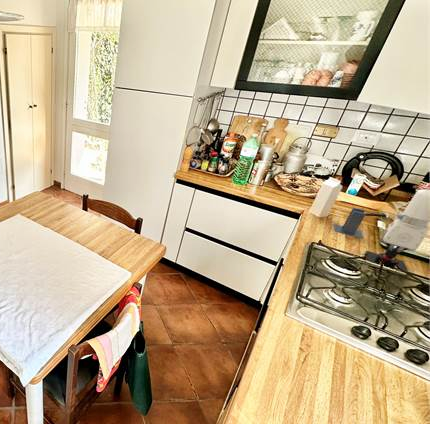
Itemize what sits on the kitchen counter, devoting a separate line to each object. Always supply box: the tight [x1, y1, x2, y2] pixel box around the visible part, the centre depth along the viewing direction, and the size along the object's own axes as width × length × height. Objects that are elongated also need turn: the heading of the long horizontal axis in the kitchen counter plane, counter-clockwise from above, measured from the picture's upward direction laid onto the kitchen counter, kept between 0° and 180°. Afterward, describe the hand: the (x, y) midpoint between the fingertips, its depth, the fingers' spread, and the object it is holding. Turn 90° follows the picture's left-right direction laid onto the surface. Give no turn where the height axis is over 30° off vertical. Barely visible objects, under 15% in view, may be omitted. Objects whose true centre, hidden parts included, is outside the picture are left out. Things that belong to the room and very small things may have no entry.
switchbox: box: [363, 250, 409, 273], centre depth 130 cm, size 12×10×4 cm
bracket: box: [333, 207, 367, 240], centre depth 151 cm, size 11×9×13 cm
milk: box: [308, 176, 343, 218], centre depth 164 cm, size 6×6×22 cm
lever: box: [358, 211, 391, 220], centre depth 145 cm, size 12×5×2 cm, turn 52°
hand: (388, 257), depth 129 cm, fingers closed
